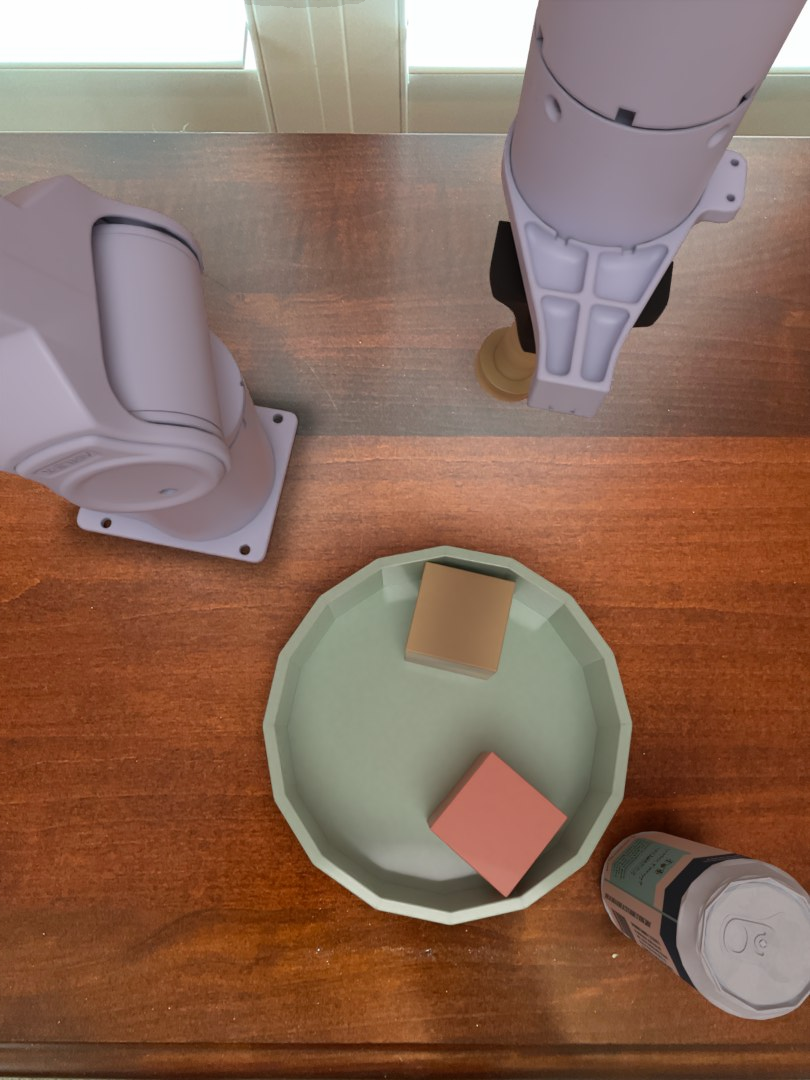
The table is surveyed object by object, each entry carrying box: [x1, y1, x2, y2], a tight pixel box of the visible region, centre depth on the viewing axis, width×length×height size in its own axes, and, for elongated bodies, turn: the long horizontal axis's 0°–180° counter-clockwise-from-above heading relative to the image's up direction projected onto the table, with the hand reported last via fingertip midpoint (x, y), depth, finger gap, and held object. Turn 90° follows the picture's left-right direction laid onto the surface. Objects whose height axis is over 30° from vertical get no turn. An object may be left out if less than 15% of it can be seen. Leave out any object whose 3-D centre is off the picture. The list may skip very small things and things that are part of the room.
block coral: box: [427, 752, 568, 897], centre depth 36 cm, size 4×4×4 cm
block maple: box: [405, 562, 515, 680], centre depth 38 cm, size 4×4×4 cm
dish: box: [261, 544, 633, 926], centre depth 37 cm, size 15×15×5 cm
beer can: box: [600, 830, 810, 1021], centre depth 32 cm, size 5×5×12 cm
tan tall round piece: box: [473, 319, 536, 403], centre depth 34 cm, size 3×3×8 cm
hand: (552, 319), depth 33 cm, fingers closed on tan tall round piece, 2 cm apart
